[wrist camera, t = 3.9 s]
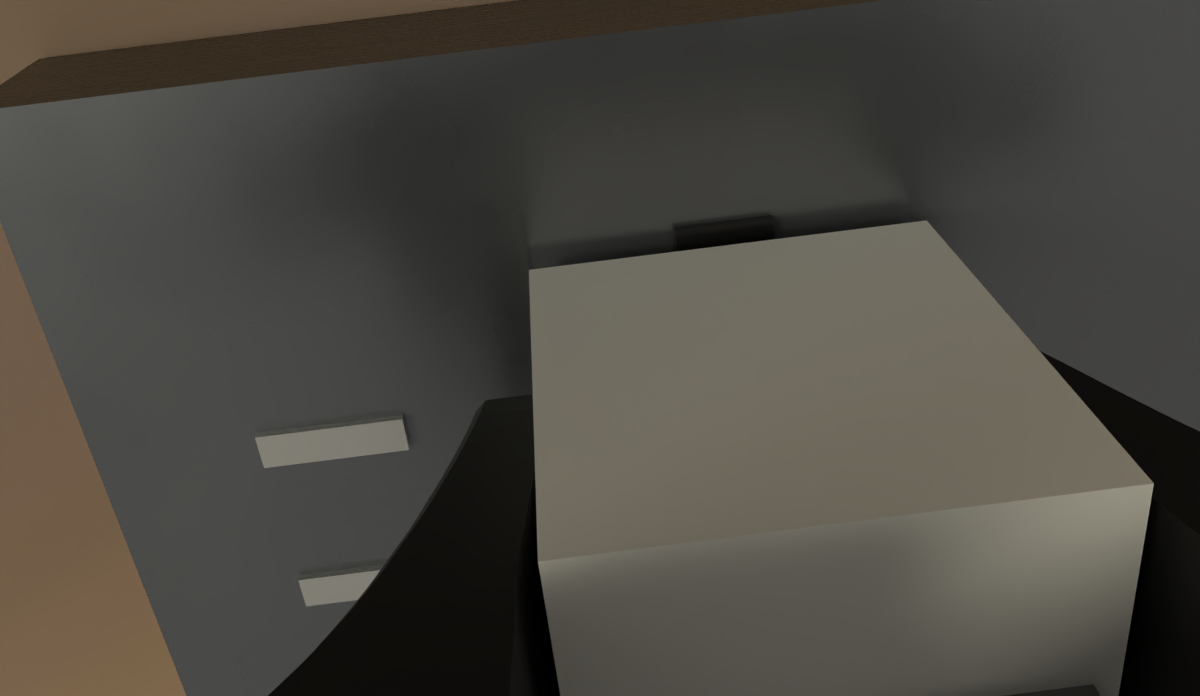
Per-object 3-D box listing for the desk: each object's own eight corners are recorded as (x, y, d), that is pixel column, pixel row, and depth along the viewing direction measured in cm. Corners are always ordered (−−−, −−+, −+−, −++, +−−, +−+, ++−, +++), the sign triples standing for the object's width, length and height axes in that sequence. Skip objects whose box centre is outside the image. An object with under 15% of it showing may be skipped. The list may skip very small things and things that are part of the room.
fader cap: (913, 535, 13) (1093, 891, 9) (575, 579, 13) (602, 955, 9) (926, 220, 11) (1162, 492, 7) (528, 269, 11) (536, 572, 7)
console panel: (1132, 856, 20) (1196, 969, 18) (351, 958, 20) (335, 1083, 18) (1318, -97, 12) (1462, -68, 10) (38, 58, 12) (-47, 116, 10)
